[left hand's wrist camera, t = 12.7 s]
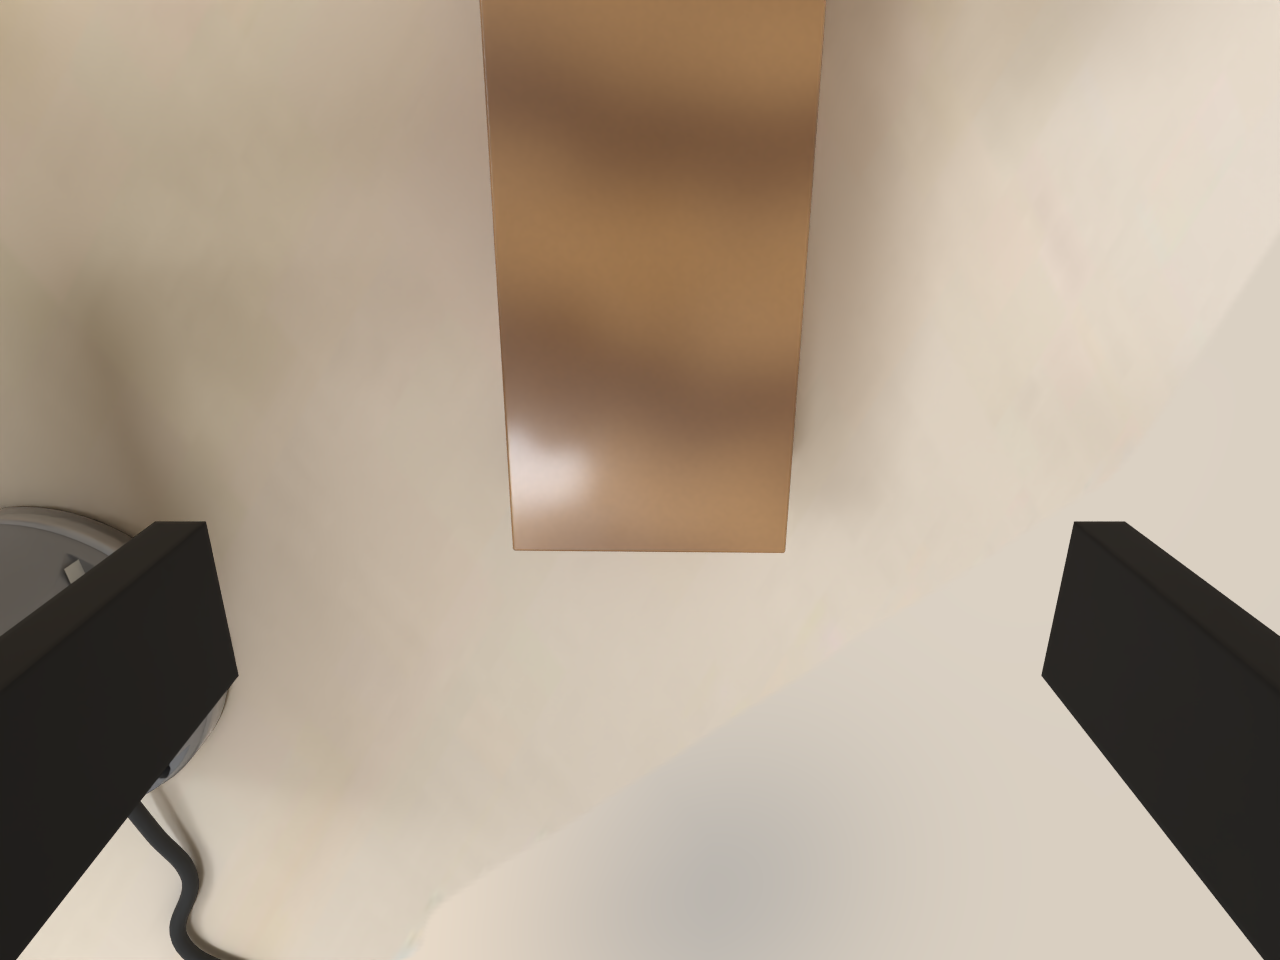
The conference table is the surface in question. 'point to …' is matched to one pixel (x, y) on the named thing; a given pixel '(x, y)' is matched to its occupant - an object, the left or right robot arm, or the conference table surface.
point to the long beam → (651, 264)
